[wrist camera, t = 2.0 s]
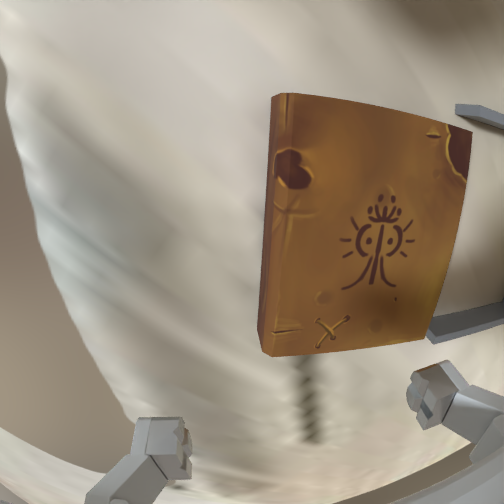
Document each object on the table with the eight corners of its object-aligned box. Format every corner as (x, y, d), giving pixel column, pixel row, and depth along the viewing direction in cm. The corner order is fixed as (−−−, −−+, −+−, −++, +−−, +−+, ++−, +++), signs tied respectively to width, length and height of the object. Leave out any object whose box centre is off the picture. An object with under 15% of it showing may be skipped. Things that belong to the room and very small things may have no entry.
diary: (269, 98, 26) (283, 91, 20) (437, 127, 28) (472, 131, 23) (255, 324, 34) (264, 359, 29) (401, 314, 36) (424, 340, 31)
